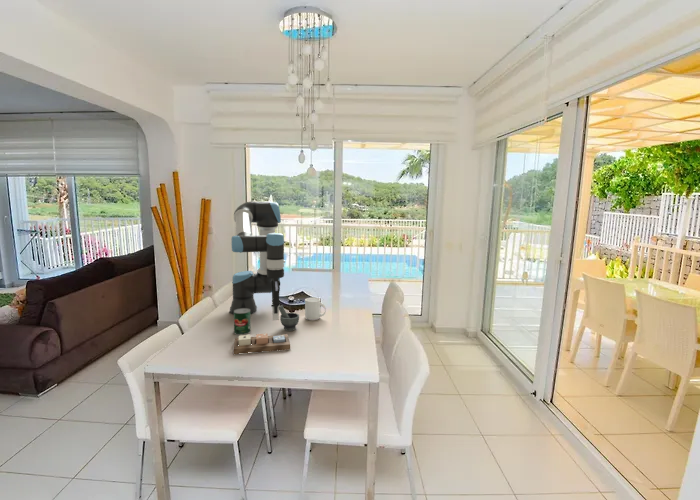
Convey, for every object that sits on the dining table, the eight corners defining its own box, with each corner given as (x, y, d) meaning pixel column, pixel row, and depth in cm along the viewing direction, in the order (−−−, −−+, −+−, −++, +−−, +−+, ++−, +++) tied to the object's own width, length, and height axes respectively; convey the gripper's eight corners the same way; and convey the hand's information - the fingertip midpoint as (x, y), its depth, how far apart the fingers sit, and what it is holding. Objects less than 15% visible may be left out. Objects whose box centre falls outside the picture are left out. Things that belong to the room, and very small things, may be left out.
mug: (322, 322, 192) (323, 303, 190) (302, 319, 195) (302, 300, 194) (328, 317, 200) (328, 298, 198) (308, 314, 203) (308, 296, 202)
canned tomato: (235, 335, 170) (235, 313, 168) (232, 330, 177) (232, 309, 175) (252, 333, 173) (251, 311, 172) (248, 327, 180) (248, 307, 179)
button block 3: (273, 346, 157) (273, 339, 157) (273, 342, 162) (273, 335, 162) (285, 345, 159) (285, 338, 158) (284, 341, 163) (284, 334, 163)
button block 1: (238, 346, 153) (238, 339, 153) (239, 341, 158) (238, 335, 157) (250, 345, 154) (250, 338, 154) (250, 341, 159) (250, 334, 159)
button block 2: (256, 344, 155) (256, 338, 155) (256, 340, 160) (256, 333, 159) (268, 344, 156) (268, 337, 156) (267, 339, 161) (267, 333, 161)
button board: (233, 354, 149) (233, 349, 149) (234, 343, 161) (234, 338, 161) (290, 349, 156) (290, 344, 156) (287, 339, 167) (287, 334, 167)
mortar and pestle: (301, 326, 185) (301, 304, 183) (295, 332, 176) (296, 309, 174) (281, 324, 187) (281, 302, 185) (274, 330, 178) (274, 307, 176)
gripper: (285, 271, 150) (285, 323, 153) (282, 265, 162) (282, 314, 166) (267, 271, 148) (268, 325, 151) (265, 265, 160) (266, 315, 163)
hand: (275, 319), depth 158 cm, fingers closed
